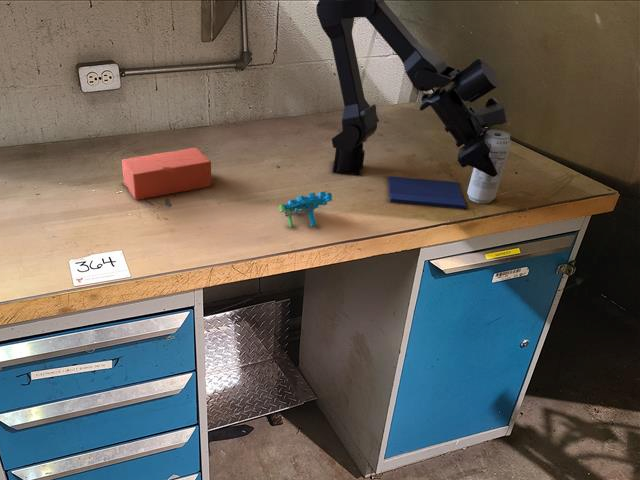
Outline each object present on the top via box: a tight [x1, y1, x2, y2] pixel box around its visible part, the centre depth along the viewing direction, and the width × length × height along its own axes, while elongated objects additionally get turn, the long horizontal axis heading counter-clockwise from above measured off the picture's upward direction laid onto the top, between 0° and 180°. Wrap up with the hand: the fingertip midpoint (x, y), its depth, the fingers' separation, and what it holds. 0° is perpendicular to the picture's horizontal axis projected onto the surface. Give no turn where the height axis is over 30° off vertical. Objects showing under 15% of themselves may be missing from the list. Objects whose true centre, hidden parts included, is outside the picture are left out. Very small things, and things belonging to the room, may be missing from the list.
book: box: [388, 175, 467, 210], centre depth 136 cm, size 16×13×1 cm
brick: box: [121, 147, 212, 201], centre depth 135 cm, size 18×9×6 cm, turn 116°
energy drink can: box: [466, 129, 512, 205], centre depth 130 cm, size 6×6×15 cm
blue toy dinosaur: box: [279, 191, 333, 228], centre depth 122 cm, size 11×6×10 cm
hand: (495, 169), depth 130 cm, fingers closed on energy drink can, 6 cm apart
